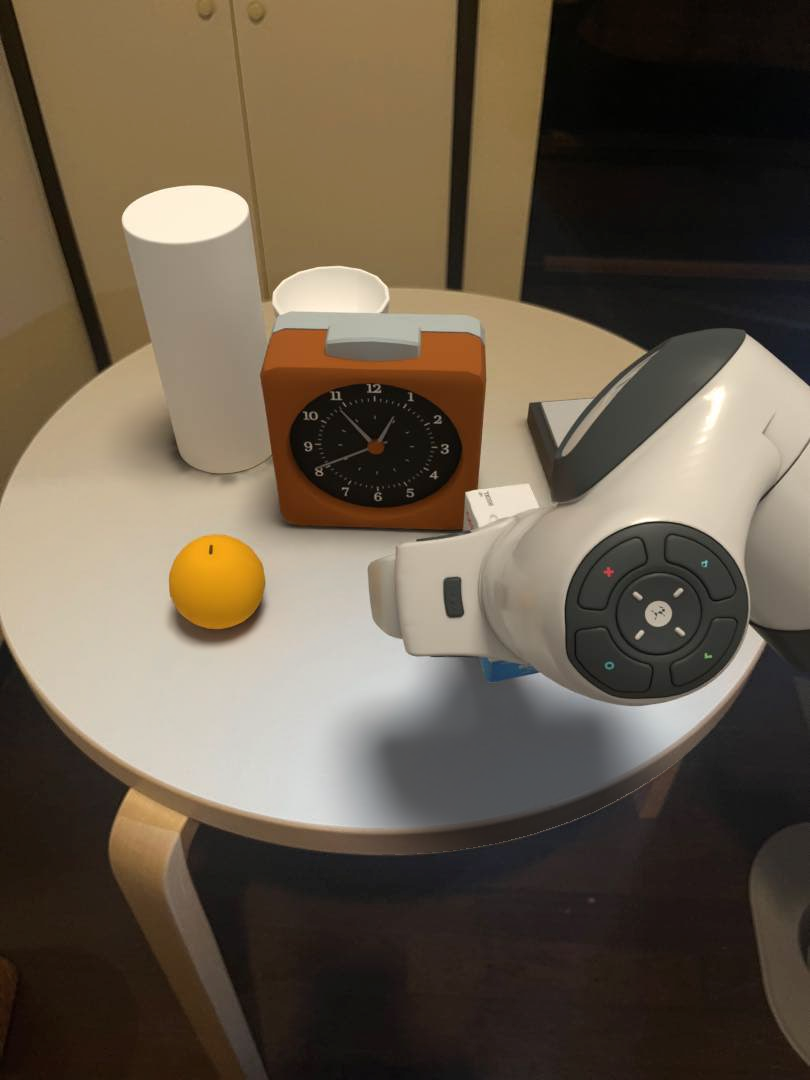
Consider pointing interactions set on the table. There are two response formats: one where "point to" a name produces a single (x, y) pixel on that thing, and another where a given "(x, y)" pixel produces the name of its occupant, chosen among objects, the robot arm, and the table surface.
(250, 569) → the orange fruit with stem
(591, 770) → the table surface
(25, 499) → the table surface
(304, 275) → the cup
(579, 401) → the scale
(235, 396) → the tall pillar cylinder
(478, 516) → the ink box
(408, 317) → the alarm clock
